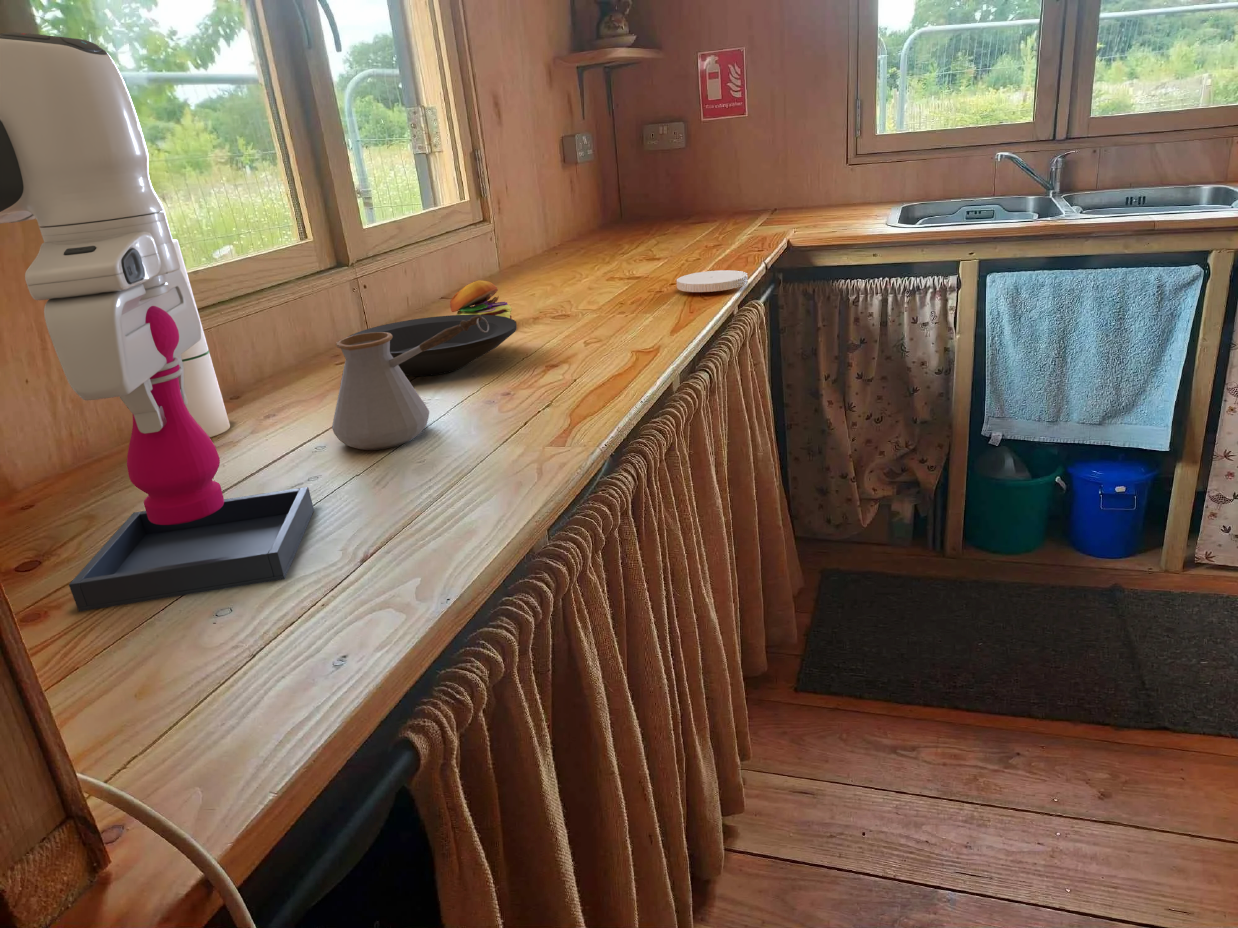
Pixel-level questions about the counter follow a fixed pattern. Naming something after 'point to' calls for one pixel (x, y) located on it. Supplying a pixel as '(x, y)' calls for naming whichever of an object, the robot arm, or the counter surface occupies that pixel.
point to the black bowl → (450, 352)
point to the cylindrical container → (202, 378)
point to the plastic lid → (712, 281)
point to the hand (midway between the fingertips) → (165, 419)
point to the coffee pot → (382, 391)
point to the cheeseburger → (479, 300)
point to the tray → (197, 551)
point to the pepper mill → (173, 445)
